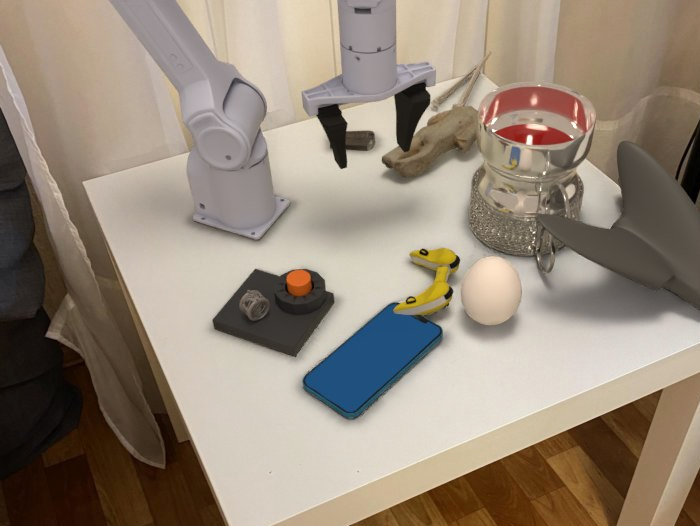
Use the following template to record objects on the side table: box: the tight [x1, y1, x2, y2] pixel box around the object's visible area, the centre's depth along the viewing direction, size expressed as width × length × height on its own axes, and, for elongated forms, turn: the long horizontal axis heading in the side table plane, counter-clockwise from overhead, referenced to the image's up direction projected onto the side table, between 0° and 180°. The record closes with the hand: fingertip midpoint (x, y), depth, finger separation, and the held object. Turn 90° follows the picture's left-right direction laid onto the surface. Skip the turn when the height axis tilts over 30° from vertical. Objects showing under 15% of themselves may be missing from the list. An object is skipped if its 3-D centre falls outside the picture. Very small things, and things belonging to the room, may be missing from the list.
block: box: [329, 130, 376, 151], centre depth 113 cm, size 4×6×2 cm, turn 89°
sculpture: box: [381, 105, 478, 178], centre depth 110 cm, size 7×5×15 cm
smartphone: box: [301, 301, 444, 419], centre depth 87 cm, size 7×1×15 cm
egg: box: [460, 255, 523, 326], centre depth 89 cm, size 6×6×8 cm
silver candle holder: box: [468, 80, 597, 275], centre depth 95 cm, size 13×18×15 cm
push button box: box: [211, 268, 335, 357], centre depth 92 cm, size 10×10×3 cm
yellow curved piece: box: [393, 247, 461, 316], centre depth 94 cm, size 10×4×10 cm
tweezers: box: [430, 50, 493, 110], centre depth 122 cm, size 17×5×2 cm, turn 154°
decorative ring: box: [239, 290, 270, 321], centre depth 90 cm, size 3×2×3 cm
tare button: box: [286, 269, 312, 296], centre depth 91 cm, size 3×3×2 cm
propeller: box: [537, 140, 700, 311], centre depth 90 cm, size 23×25×9 cm
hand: (372, 155), depth 96 cm, fingers open, 7 cm apart
